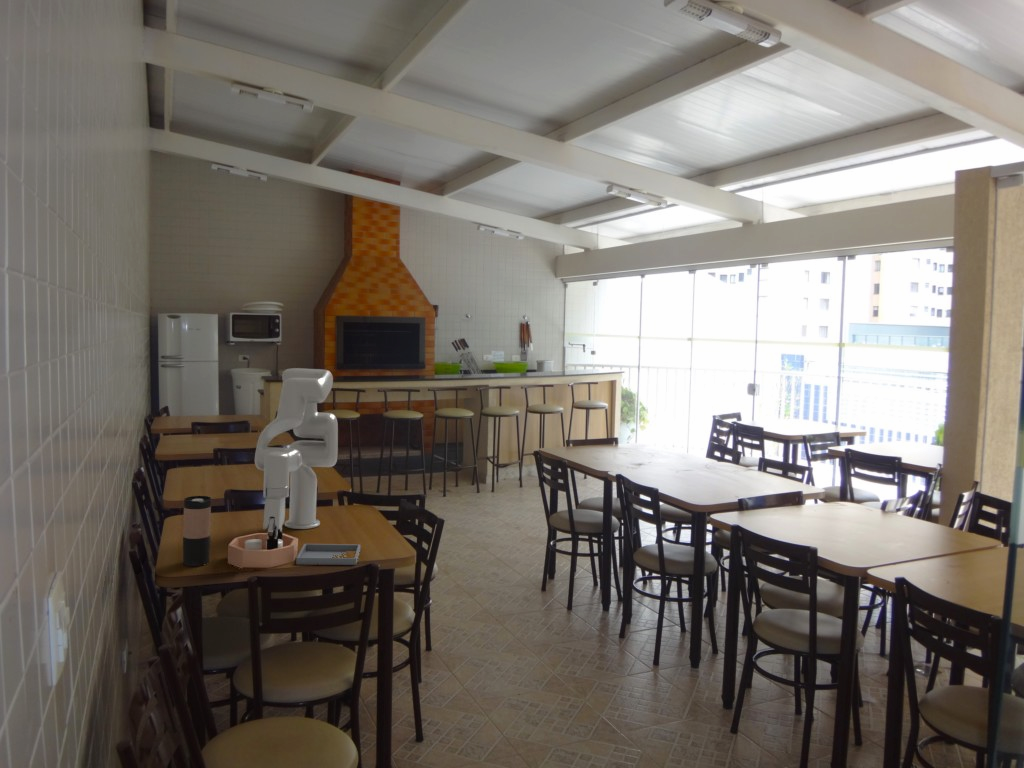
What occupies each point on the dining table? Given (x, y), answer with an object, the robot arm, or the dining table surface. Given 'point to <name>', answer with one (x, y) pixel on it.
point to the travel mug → (196, 530)
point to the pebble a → (253, 544)
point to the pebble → (280, 543)
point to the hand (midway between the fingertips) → (274, 547)
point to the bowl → (262, 552)
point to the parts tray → (327, 554)
